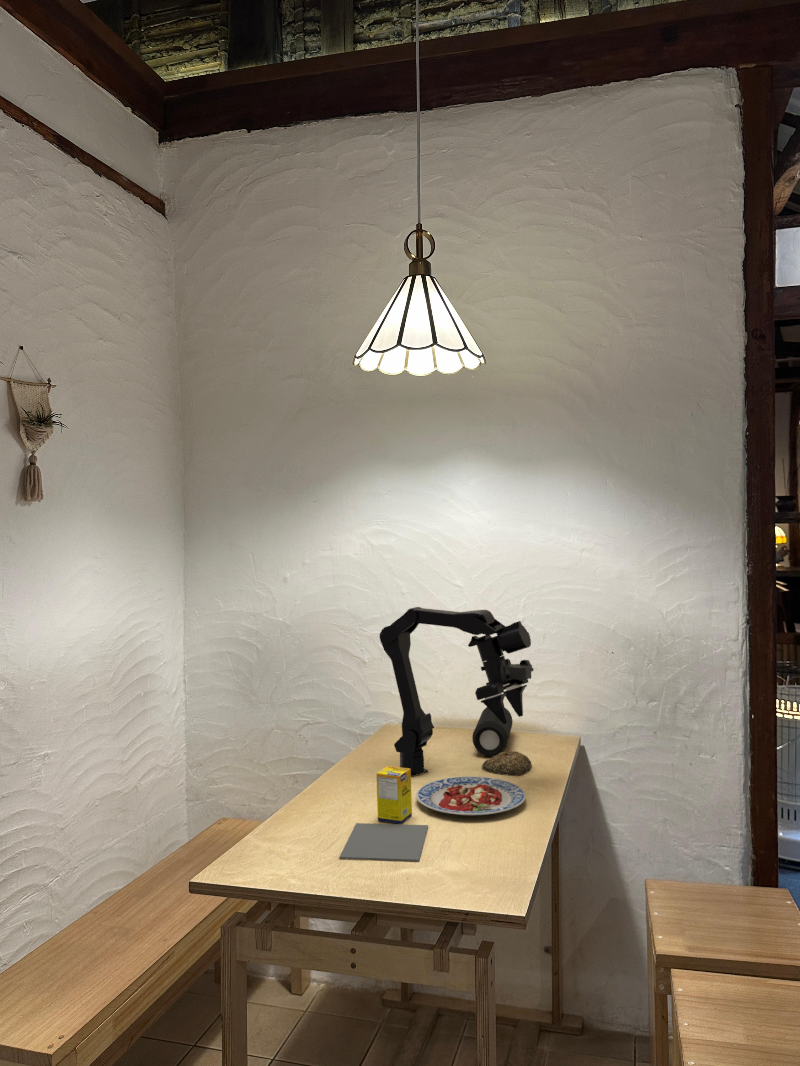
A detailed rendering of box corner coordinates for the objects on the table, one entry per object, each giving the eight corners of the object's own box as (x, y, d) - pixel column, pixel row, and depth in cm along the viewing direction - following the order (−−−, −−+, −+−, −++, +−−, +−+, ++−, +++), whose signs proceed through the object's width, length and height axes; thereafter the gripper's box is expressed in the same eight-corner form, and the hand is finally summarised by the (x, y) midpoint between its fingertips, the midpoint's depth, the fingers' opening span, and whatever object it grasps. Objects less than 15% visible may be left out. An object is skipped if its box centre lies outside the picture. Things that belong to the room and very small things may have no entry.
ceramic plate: (416, 785, 208) (416, 773, 208) (519, 784, 208) (518, 772, 208) (415, 824, 183) (415, 810, 183) (532, 822, 182) (532, 809, 182)
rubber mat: (356, 824, 182) (356, 823, 182) (428, 826, 180) (428, 825, 180) (339, 858, 164) (339, 856, 164) (419, 861, 162) (419, 859, 162)
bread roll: (517, 779, 212) (516, 760, 212) (476, 771, 219) (475, 752, 219) (540, 766, 222) (540, 748, 222) (500, 759, 229) (500, 741, 229)
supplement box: (412, 815, 187) (411, 767, 187) (401, 825, 182) (400, 775, 182) (388, 812, 190) (387, 765, 189) (377, 821, 184) (376, 772, 184)
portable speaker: (481, 734, 255) (480, 702, 255) (513, 735, 253) (512, 703, 253) (471, 758, 230) (470, 723, 230) (507, 760, 228) (506, 724, 228)
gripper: (504, 654, 194) (526, 719, 192) (535, 645, 210) (556, 705, 207) (465, 667, 200) (486, 730, 197) (498, 657, 216) (518, 715, 213)
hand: (513, 719), depth 204 cm, fingers open, 9 cm apart
